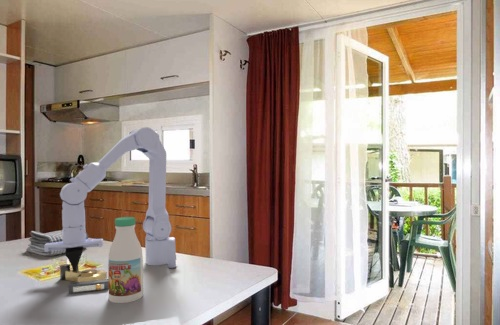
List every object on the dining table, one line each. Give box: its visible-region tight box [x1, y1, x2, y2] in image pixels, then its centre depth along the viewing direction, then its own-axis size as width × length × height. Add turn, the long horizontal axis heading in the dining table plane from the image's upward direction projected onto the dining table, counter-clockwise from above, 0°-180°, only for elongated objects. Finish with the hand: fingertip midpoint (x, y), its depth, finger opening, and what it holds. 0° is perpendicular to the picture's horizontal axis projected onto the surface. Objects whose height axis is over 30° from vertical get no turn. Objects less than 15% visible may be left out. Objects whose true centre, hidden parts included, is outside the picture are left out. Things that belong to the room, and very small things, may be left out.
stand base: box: [68, 278, 109, 295], centre depth 92 cm, size 16×16×3 cm
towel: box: [25, 229, 89, 257], centre depth 133 cm, size 15×18×8 cm
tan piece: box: [59, 263, 108, 282], centre depth 92 cm, size 15×7×4 cm, turn 65°
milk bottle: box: [107, 216, 144, 304], centre depth 82 cm, size 8×8×20 cm
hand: (75, 274), depth 96 cm, fingers closed, pressing on tan piece
